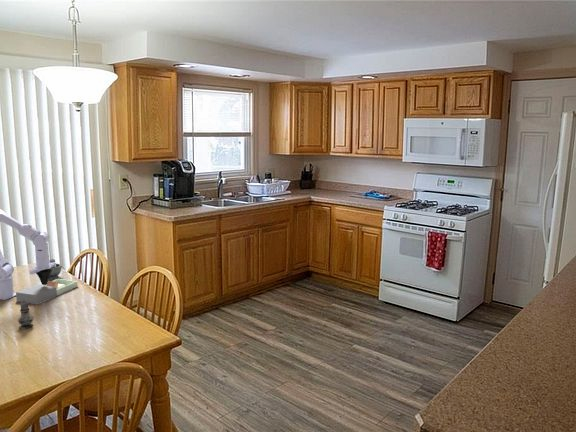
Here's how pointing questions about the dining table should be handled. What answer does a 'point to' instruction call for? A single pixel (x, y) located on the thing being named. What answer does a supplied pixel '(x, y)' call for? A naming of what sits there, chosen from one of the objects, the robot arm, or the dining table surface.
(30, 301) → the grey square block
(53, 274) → the mortar and pestle
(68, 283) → the green bin
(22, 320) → the dark grey chess piece
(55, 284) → the terracotta tile
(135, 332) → the dining table surface
